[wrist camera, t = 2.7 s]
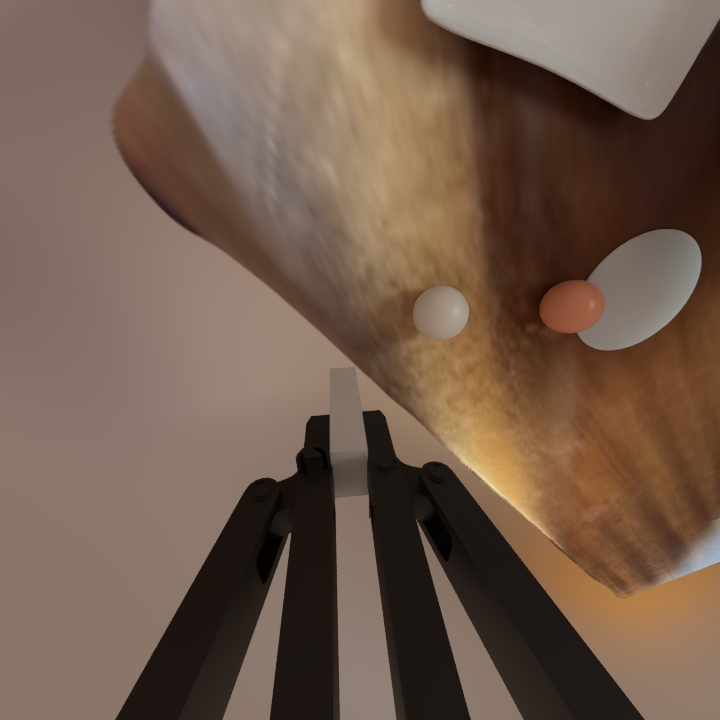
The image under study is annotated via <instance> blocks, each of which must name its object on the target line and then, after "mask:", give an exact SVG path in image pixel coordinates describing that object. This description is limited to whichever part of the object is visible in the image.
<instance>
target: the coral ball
mask: <svg viewBox="0 0 720 720" xmlns="http://www.w3.org/2000/svg"><path fill="white" fill-rule="evenodd" d="M604 309H605V298H604V295H603V293H602V292H601V290H600V289H599V288H598V287H597V286H595V285H594V284H592V283H590V282H587V281H583V280H568V281H564V282H561V283H559V284H557V285H555V286H553V287H552V288H551V289H549V290H548V291H547V292H546V294H545V295H544V296H543V298H542V300H541V302H540V307H539V313H540V317H541V319H542V321H543V322H544V323H545V324H546V326H548V327H549V328H550V329H552V330H554V331H557V332H561V333H577V332H581V331H584V330H586V329H588V328H590V327H591V326H593V325H594V324H595V323H596V322H597V321H598V320H599V319H600V318H601V316H602V314H603V312H604Z"/></svg>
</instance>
